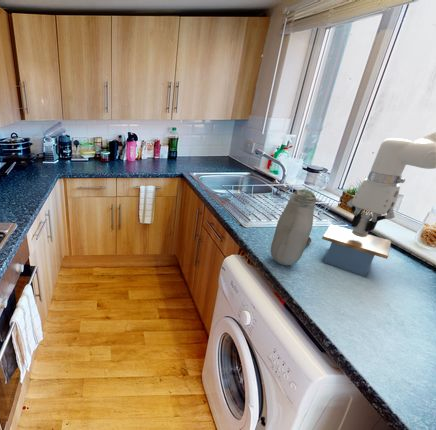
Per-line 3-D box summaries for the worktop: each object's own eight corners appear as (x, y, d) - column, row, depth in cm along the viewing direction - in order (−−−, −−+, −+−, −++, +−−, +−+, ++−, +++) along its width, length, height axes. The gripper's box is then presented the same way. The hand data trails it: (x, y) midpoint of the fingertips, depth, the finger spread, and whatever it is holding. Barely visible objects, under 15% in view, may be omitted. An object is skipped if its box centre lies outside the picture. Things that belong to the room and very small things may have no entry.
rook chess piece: (354, 236, 100) (363, 215, 96) (348, 230, 104) (356, 210, 100) (369, 238, 99) (379, 217, 95) (362, 232, 103) (371, 212, 99)
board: (389, 243, 101) (391, 240, 101) (386, 259, 92) (388, 255, 92) (329, 226, 113) (330, 224, 112) (321, 239, 104) (322, 236, 103)
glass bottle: (296, 273, 99) (322, 198, 88) (264, 262, 105) (285, 191, 93) (300, 260, 107) (325, 190, 95) (270, 251, 112) (290, 183, 100)
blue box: (368, 262, 106) (378, 241, 103) (364, 276, 99) (375, 254, 95) (330, 250, 114) (338, 230, 110) (324, 262, 106) (332, 241, 102)
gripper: (421, 184, 87) (395, 236, 95) (360, 170, 101) (342, 217, 108) (409, 187, 84) (384, 241, 92) (348, 172, 98) (330, 220, 106)
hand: (361, 227), depth 100 cm, fingers closed on rook chess piece, 3 cm apart
